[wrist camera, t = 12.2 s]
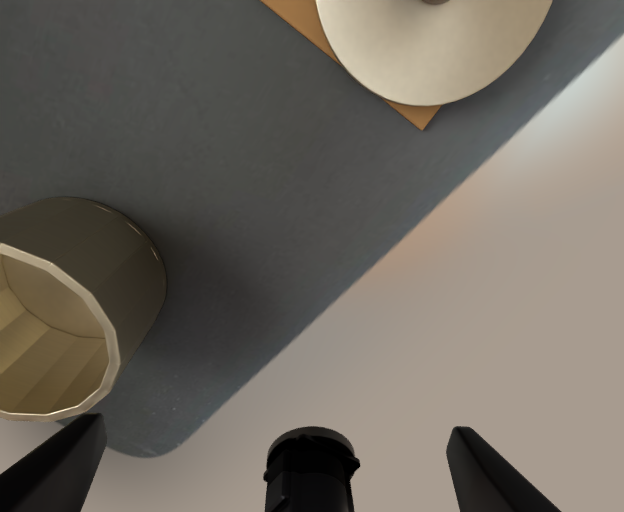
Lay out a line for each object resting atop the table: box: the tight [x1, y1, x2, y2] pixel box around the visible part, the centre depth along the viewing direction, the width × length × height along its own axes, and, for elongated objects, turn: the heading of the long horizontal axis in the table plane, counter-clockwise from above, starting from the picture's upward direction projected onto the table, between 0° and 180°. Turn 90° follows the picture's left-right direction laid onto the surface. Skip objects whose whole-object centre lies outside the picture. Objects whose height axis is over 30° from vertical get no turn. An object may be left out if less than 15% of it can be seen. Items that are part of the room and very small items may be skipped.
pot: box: [0, 197, 167, 422], centre depth 19 cm, size 9×9×6 cm
